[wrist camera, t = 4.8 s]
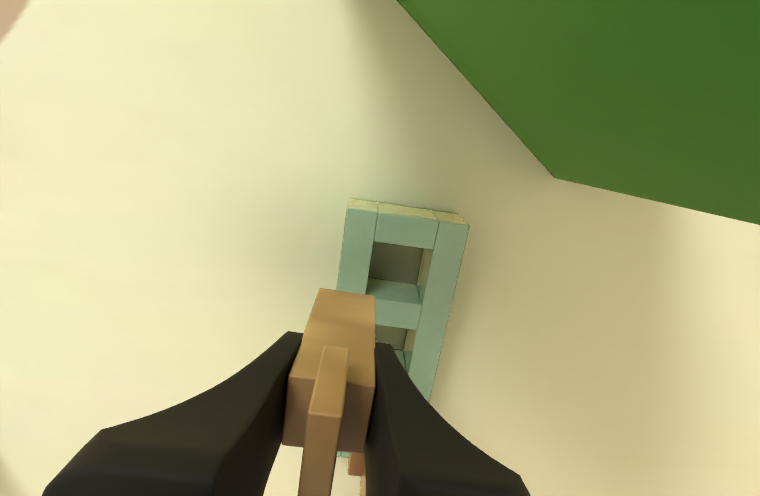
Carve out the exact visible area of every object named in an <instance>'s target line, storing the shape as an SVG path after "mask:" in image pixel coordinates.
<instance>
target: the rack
mask: <svg viewBox="0 0 760 496" xmlns="http://www.w3.org/2000/svg"><path fill="white" fill-rule="evenodd" d="M468 230H469V225H468V224H467V223H466V222H465V221H464V220H463V219H462V218H461V217H459V216H458V215H457V214H454V213H447V212H441V211H434V210H426V209H420V208H413V207H406V206H400V205H393V204H386V203H380V202H379V203H377V202H373V201H367V200H360V199H353V198H351V199H350V202H349V204H348V207H347V212H346V220H345V228H344V235H343V243H342V251H341V259H340V266H339V274H338V282H337V290H336V291H344V292H351V293H358V294H365V295H373V296H375V325H381V326H389V327H397V328H405V329H408V330H407V335H406V340H405V345H404V350H403V351H402V350H394V351H395V353H396V355H397V357H398V359H399V361H400V362H401V364H402V366H403V367H404V369H405V371H406V372H407V374H408V375H409V377H410V378H411V380H412V381H413V383H414V384H415V386H416V387H417V389H418V390H419V391H420V393H421V394H422V395H423V397H424V398H425V399H426V400H427V401H428V403H429V400H430V395H431V391H432V387H433V382H434V378H435V374H436V369H437V365H438V361H439V356H440V352H441V347H442V343H443V339H444V334H445V330H446V326H447V321H448V317H449V313H450V308H451V304H452V300H453V295H454V291H455V286H456V282H457V278H458V273H459V269H460V265H461V260H462V256H463V252H464V247H465V243H466V239H467V234H468ZM374 241H375V242H381V243H388V244H395V245H402V246H409V247H416V248H423V253H422V259H421V264H420V269H419V274H418V279H417V284H409V283H401V282H394V281H387V280H379V279H372V278H368V275H369V268H370V262H371V255H372V249H373V242H374ZM340 456H341V457H345V458H349V452H340V451H337V456H336V457H340Z"/></svg>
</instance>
